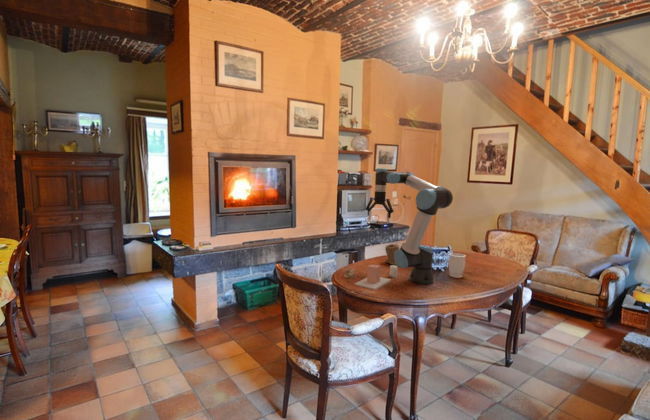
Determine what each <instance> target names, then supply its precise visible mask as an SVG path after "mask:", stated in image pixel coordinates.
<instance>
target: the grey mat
mask: <svg viewBox="0 0 650 420" xmlns="http://www.w3.org/2000/svg"><path fill="white" fill-rule="evenodd" d="M391 281H392V279H391V278H386V277H383V276H380V282H378V283H376V284H375V283H370V282H367V277H365V278H363V279H362V280H358V281H357V282H355V283H354V286H357V287H362V288H365V289H369V290H373V291H377V290H378V289H380V288H381V287H383V286H385V285H388V283H390V282H391Z"/></svg>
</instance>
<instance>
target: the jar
mask: <svg viewBox="0 0 650 420" xmlns="http://www.w3.org/2000/svg"><path fill="white" fill-rule="evenodd" d="M466 256H467V255H466V254H463V253H458V252H457V253H456V252H452V253H451V252H450V253H449V258H448V271H449V275H448V276H450V277H452V278H456V279H457V278H458V279H460V278H463V277H464V276H463V274H464V271H465V267H466Z"/></svg>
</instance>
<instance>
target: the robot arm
mask: <svg viewBox="0 0 650 420" xmlns="http://www.w3.org/2000/svg"><path fill="white" fill-rule="evenodd" d="M374 176H375V177H374V178H375V184H374V197H369V201H368V203H367V204H366V206H365V211H367V216H368V221H372V213H373V212H372V210H373V208H374V207H375V206H376V205H380V206H381V205H382V206H383V207H384V209H385V211H386V212H387V213H386V220H385V221H386V224H389V223H390V218H391V217H392V215H391V214H392V213H394V209H393V206H392V204H391V199H390V198H386V196H387V195H386V193H387V192H386V190H387V184H391V185H393V184H394V185H395V184H404V185H406V186H408V187H410V188H412V189H414V190H416V191H418V193H417V194H416V196H415V205H416V209H417V212H416V215H415V217H414V220H413V222H412V224H411V227H410V230H409V231H408V232H409V233H408V234H407V237H406V240H405V242H403V243H402V244H401V246H400V247H399V249H398V250H396V251H395V252H394V260H395V263H396V264H397V265H398V268H400V269H401V268H402V269H407V268H412V270H411V272H410V275H409V281H410V282H412V283H416V284H419V285H430V284H433V283H434V280H435V278H434V273H433V270H432V269H433V268H432V267H433V257H434V249H433V248H432V247H431V246H428V245H425V244H422V241H423V238H424V236H425V233H426V231H427V229H428V227H429V225H430V222H431V220H432V217H433V216H436V215H437V213H438V210H441V209H446V208H448V207H450V206H451V204H452V203H453V200H454V195H453V193H452V191H450V190H449V189H448V188H446V187H443V186H441V185H435V184H433V183H430V182H428V181H426V180H424V179H421V177H420V178H419V177H417V176H415V174H414V173H413V172H409V171H406V172H405V171H388V169H387V168H380V167H379V168H376V169H375V175H374ZM373 201H374V202H373ZM397 265H396V266H397Z"/></svg>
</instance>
